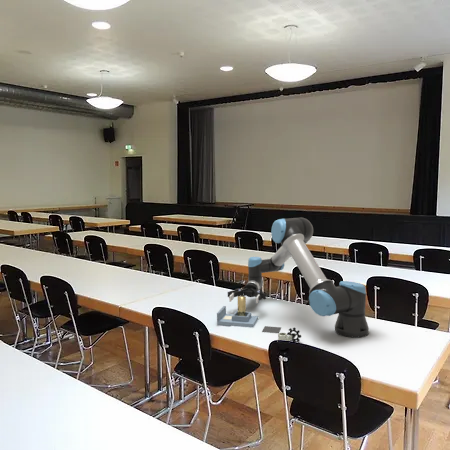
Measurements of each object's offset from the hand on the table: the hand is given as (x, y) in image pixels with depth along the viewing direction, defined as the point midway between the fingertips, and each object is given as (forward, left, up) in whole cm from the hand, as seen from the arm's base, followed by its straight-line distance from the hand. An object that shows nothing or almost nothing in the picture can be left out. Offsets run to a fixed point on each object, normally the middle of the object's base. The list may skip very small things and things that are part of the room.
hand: (243, 299), depth 218 cm
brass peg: (0, +5, -8) cm, 9 cm away
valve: (-26, +28, -11) cm, 40 cm away
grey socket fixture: (+2, +5, -10) cm, 11 cm away
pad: (-16, +12, -10) cm, 23 cm away
